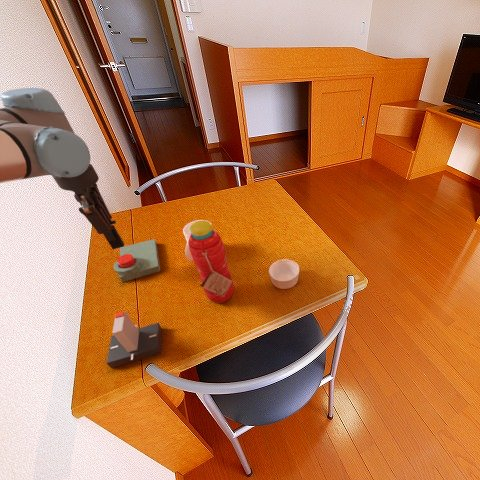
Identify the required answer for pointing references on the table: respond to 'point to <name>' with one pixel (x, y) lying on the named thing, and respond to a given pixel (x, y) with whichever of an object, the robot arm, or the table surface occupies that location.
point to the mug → (187, 235)
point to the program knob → (126, 331)
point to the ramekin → (284, 273)
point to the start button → (126, 261)
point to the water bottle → (211, 261)
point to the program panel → (146, 347)
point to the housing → (139, 260)
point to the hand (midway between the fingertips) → (118, 246)
